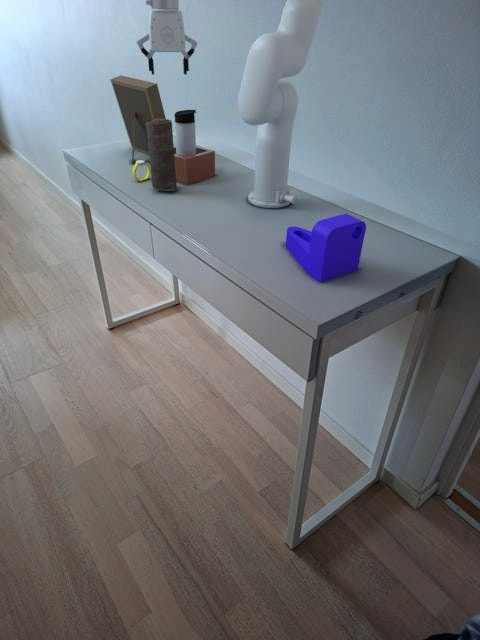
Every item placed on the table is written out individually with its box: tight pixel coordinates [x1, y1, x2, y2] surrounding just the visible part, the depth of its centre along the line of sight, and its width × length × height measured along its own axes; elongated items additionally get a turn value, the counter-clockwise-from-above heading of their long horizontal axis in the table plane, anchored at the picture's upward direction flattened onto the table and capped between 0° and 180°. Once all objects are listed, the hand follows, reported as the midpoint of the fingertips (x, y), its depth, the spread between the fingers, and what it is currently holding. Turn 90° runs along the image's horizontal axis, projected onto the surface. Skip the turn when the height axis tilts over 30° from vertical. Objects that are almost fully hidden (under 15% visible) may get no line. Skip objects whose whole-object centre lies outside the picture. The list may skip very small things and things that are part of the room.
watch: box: [131, 159, 151, 182], centre depth 143 cm, size 6×3×6 cm, turn 135°
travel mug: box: [174, 109, 197, 157], centre depth 143 cm, size 6×7×20 cm
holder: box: [174, 145, 216, 186], centre depth 147 cm, size 13×13×8 cm
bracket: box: [285, 213, 367, 283], centre depth 101 cm, size 18×11×12 cm, turn 33°
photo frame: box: [110, 74, 167, 165], centre depth 158 cm, size 15×22×25 cm
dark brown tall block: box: [146, 118, 178, 192], centre depth 132 cm, size 8×7×20 cm
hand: (169, 74), depth 136 cm, fingers open, 9 cm apart
